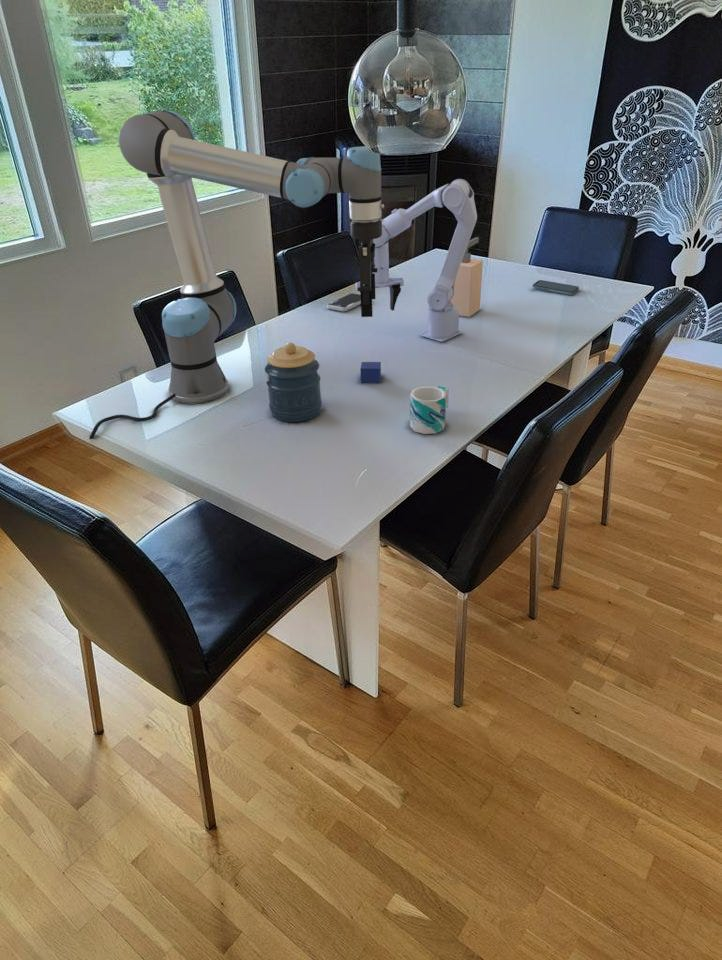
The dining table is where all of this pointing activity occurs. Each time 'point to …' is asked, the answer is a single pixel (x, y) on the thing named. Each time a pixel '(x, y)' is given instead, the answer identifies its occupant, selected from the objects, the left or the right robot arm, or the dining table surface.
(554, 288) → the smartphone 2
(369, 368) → the block
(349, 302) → the smartphone
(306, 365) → the canister
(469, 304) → the soap dispenser
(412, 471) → the dining table surface
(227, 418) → the dining table surface
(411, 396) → the mug
